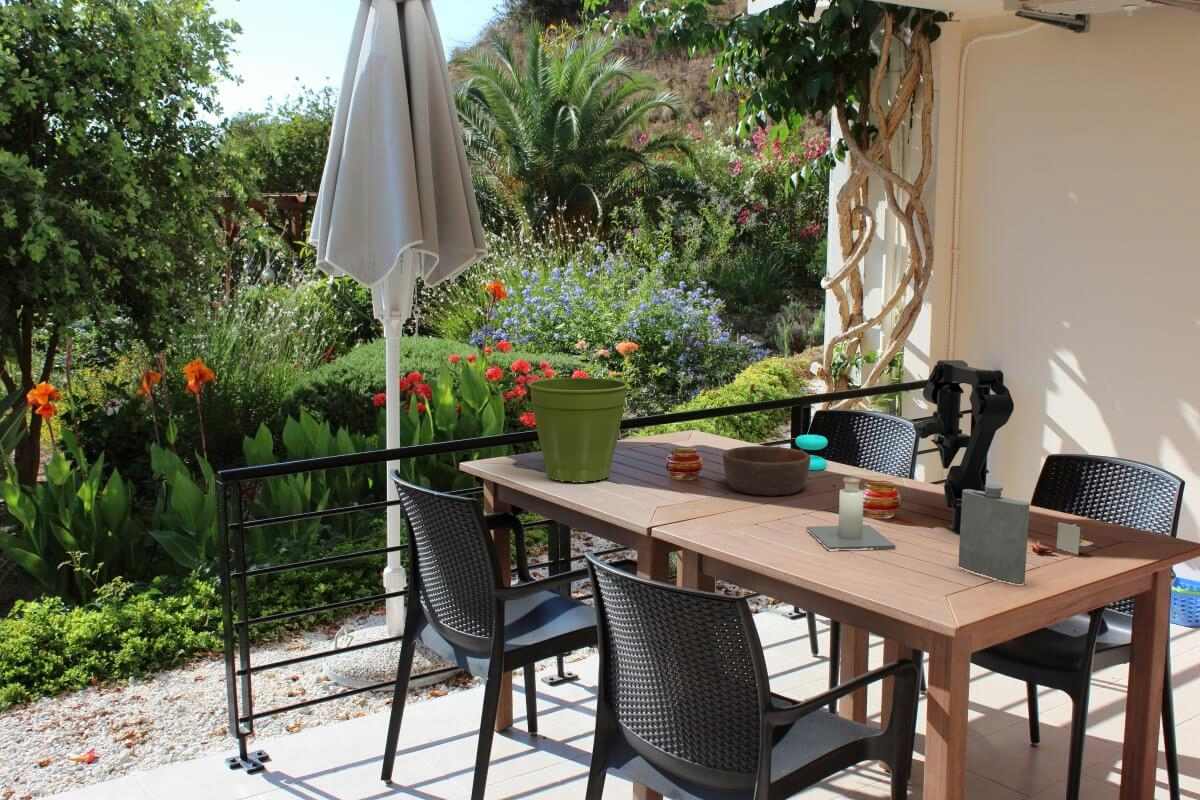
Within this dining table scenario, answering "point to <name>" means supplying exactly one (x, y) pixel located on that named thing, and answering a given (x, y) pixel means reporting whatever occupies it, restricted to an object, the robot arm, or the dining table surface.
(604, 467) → the plant pot
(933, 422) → the robot arm
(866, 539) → the charcoal tile board
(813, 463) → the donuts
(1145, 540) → the dining table surface
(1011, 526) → the hip flask
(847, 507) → the corked frosted bottle
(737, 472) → the wooden bowl
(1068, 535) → the pale grey angular piece
